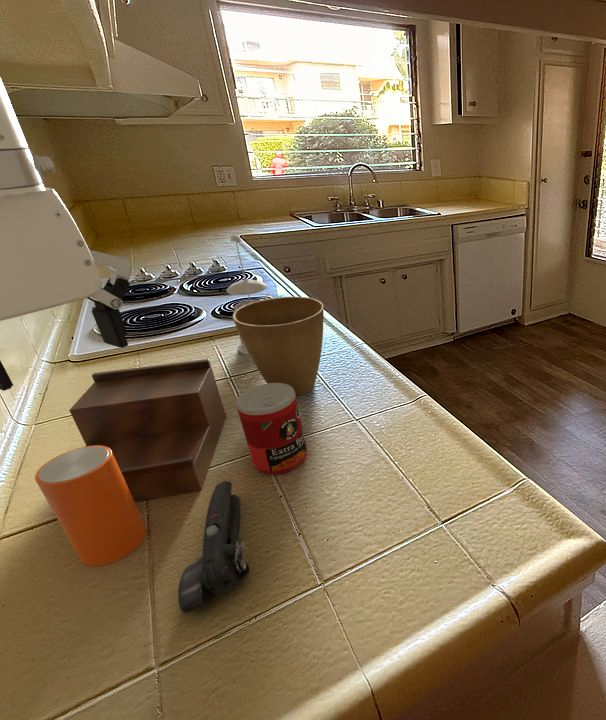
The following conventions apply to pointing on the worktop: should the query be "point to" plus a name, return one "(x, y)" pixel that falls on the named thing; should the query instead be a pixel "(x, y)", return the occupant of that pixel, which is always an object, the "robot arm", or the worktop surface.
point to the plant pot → (283, 339)
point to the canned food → (272, 427)
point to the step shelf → (155, 424)
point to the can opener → (216, 553)
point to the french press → (245, 291)
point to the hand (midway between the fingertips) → (63, 363)
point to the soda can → (92, 504)
